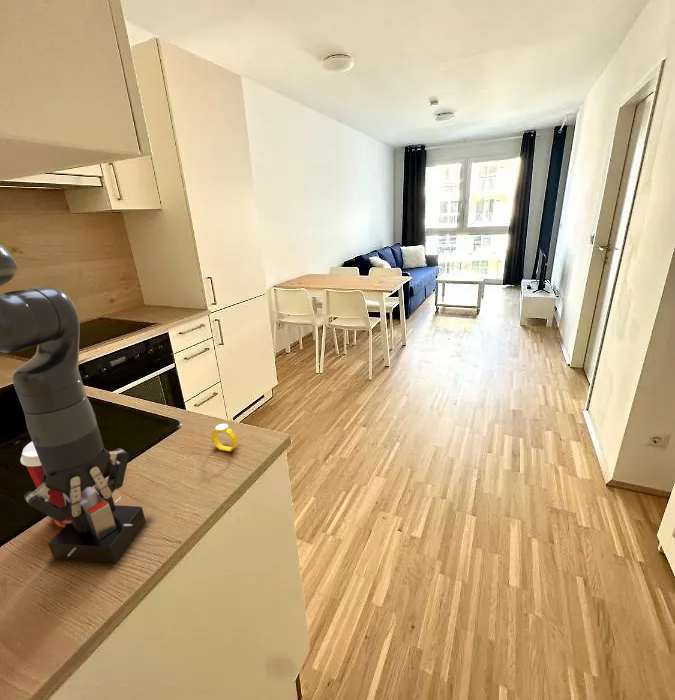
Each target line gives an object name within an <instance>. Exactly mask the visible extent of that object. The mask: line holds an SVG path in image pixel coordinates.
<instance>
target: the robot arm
mask: <svg viewBox="0 0 675 700" xmlns="http://www.w3.org/2000/svg"><path fill="white" fill-rule="evenodd" d="M18 268H19V267H18V263H17V261H16V258H15V257H14V256H13V255H12V253H11V252H10V251H9V250H8V249H7V248H6V247H5V246H4V245H3V243H2V242H0V287H2V286H4V285H5V284H7V283H9V282H10V281H12V280H13V278H14V277H16V275H17V273H18V270H19V269H18ZM80 327H81V326H80V316H79V313H78V310H77V307H76V305H75V303H74V302H73V300H72V299H71V298H70V297H69V296H68V295H67V293H65V292H64V291H63V290H61V289H60V288H57V287H55V286H51V285H50V286H49V285H41V286H34V287H29V288H23V289H19V290H13V291H7V292H1V291H0V353H4V354H10V353H17V352H21V351H24V350H27V349H30V348H32V347H36V346H37V347H36V351H35V354H34V355H33V356H32V357H31V358H30V359H28V360H27V361H26V362H24V363H23V364H21V365H20V366H18V367H17V368H16V369H15V370H14V371H13V373H12V374H11V375H12V378H11V379H12V383H13V387H14V389H15V393H16V395H17V397H18V399H19V402H20V405H21V407H22V411H23V414H24V418H25V424H26V428H27V431H28V433H29V436H30V439H31V442H32V441H33V444H34V447H35V449H36V452H37V455H38V457H39V460H40V462H41V465H42V468H43V470H44V476H43V479H42V481H43V483H42V484H41V485H40V486H39V487H38V488H37V487H36V489H34V490H30V491H27V492H26V493H25V494H24V495H23V498H24V501H26V502H27V504H28V505H29V506H30V507H31V508H33V509H35V510H37V511H39V512H40V513H42V514H44V515H46V516H48V517H49V518H51V519H52V520H53V519H55V520H56V521H58V522H61V521H63V520H65V519H66V518H67V517H70V518H71V521H72V523H73V526H74V527H75V529H76V530H77V531H79V532H81V531H83V532H84V533H86V532H88V531H89V530H90V528H89V525H88V522H87V519H86V517H85V514H84V512H83V511H82V510H81V501H82V499H81V492H82V491H83V490H85V489H86V488H88V487H91V488H92V487H94V489H95V492H96V493H97V494H98V495H99V496H101V497H102V498H103V499H104V500H105V501H106V502H107V503H108V504H109V505H110V509H111V512H114V511H115V505H116V504H115V502H114V498H113V493H114V491H116V490H118V489H121V488H122V487H123V485H124V480H125V476H126V471H127V466H128V462H129V457H130V454H129V452H127V451H125V450H124V449H123V448H120V447H117V448H116V449H114V450H111V451H109V450H107V449H106V448H105V445H104V442H103V439H102V435H101V432H100V429H99V425H98V421H97V415H96V413H95V412H94V409H93V406H92V404H91V401H90V400H89V398H88V396H87V395H88V394H87V392H86V389H85V386H84V383H83V378H82V376H81V373H80V369H79V360H80V359H79V358H80V332H81V331H80V330H81V328H80ZM109 463H110V468H109V474H108V477H107V480H106V479H105V477H104V476H103V475H104V474H105V471H106V469H107V467H108V464H109ZM49 489H52V490H55V491H58V492H61V493H63V496H64V499H65V506H62V507H59V506H57V505H55V504H54V503H52V502H50V501H49V499H50V495H49V494H48V491H49ZM112 515H113V513H112Z"/></svg>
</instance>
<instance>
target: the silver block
mask: <svg viewBox="0 0 675 700" xmlns="http://www.w3.org/2000/svg"><path fill="white" fill-rule="evenodd" d="M81 499H82V501H81V510H82V511H83V512H84V514H85V517H86V519H87V522H88V525H89V528H90V531H91V532H92V533H93V534H94V535H95V536H96V537H97V539H98V540H100V539H102V538H103V537H105V536H106V535H108V534H109V533H111V532H113V531H114V530H116V529H117V528H116V525H115V521H114V518H113V515H112V512H111V509H110V505H109V504H108V503H107V502H106V501H105V500H104V499H103V498H102V497H101V496H99V493H98V492H97V491H96V490H94V489H93V488H92V487H91V488H90V487H88V488H86V489H85V490H83V491H82V492H81Z"/></svg>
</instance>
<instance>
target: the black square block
mask: <svg viewBox="0 0 675 700" xmlns="http://www.w3.org/2000/svg"><path fill="white" fill-rule="evenodd" d="M122 498H123V496H119V497H118V498H117V499H116V500H115V502H114V505H115V511H114V512H112V513H113V518H114V521H115V525H116V528H117V529H116V530H114V531H113V532H111V533H109V534H108V535H106V536H105V537H103V538H102V539H100V540H98V539H97V537H96V536H95V535H94V534H93V533H92V532H91V531H90V530H89V531H88V532H86V533H84V532H83V531H81V532H79V531H77V530H76V529H75V527H74V526H73V523H72V521H71V520H70V521H65V520H64V521H63V523H67V525H66V526H65V527H62V529H61V530H60V531H58V532H57V533H56V534H55V535H54V536H53V538H52V539H50V540H49V542H48V543H47V545H48V548H49V550H50V552H51V555H52V557H53V561H58V562H59V561H60V562H74V563H75V562H76V563H90V564H106V565H116V564H117V563H118V561H119V560H120V559H121V557H122V556H123V555H124V553H125V551H127V549H128V548H129V547H130V545H131V543H132V542H133V541H134V540H135V538H136V537H137V536H138V534H139V533H140V532H141V530H142V529H143V527H144V526H145V524H146V523H147V521H146V518H145V514H144V510H143V506H137V505H117V503H119V501H121V499H122Z"/></svg>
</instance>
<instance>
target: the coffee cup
mask: <svg viewBox="0 0 675 700" xmlns="http://www.w3.org/2000/svg"><path fill="white" fill-rule="evenodd" d="M19 460H20V464H21V465H22V466H25V467H26V469H27V471H28V474H29V475H30V477H31V479H32V481H33V483H34V486H35V488H36V489H37V488H38V487H39V486H40V485H41V484H42V483H43V481H42V479H43V476H44V470H43V468H42V465H41V462H40V460H39V457H38V455H37V452H36V449H35V447H34V444H33V441H32V440H31V441H30V442H29V443H27V444H26V445H25V446H24V447H23V449H22V452H21V457H20V459H19ZM90 488H92V486H91V487H90ZM48 494H49V495H50V499H49V501H50V502H52V503H54V504H55V505H57V506H59V507H62V506H65V499H64V496H63V493H61V492H58V491H55V490H52V489H49V491H48ZM52 520H53V522H54V524H55V525H56V526H57V527H59V528H64V527H65V526H66V525H67V523H63V521H64V520H63V521H61V522H58V521H56V520H55V519H53V518H52ZM70 520H71V518H70V517H67V518H66V519H65V521H70Z"/></svg>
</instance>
